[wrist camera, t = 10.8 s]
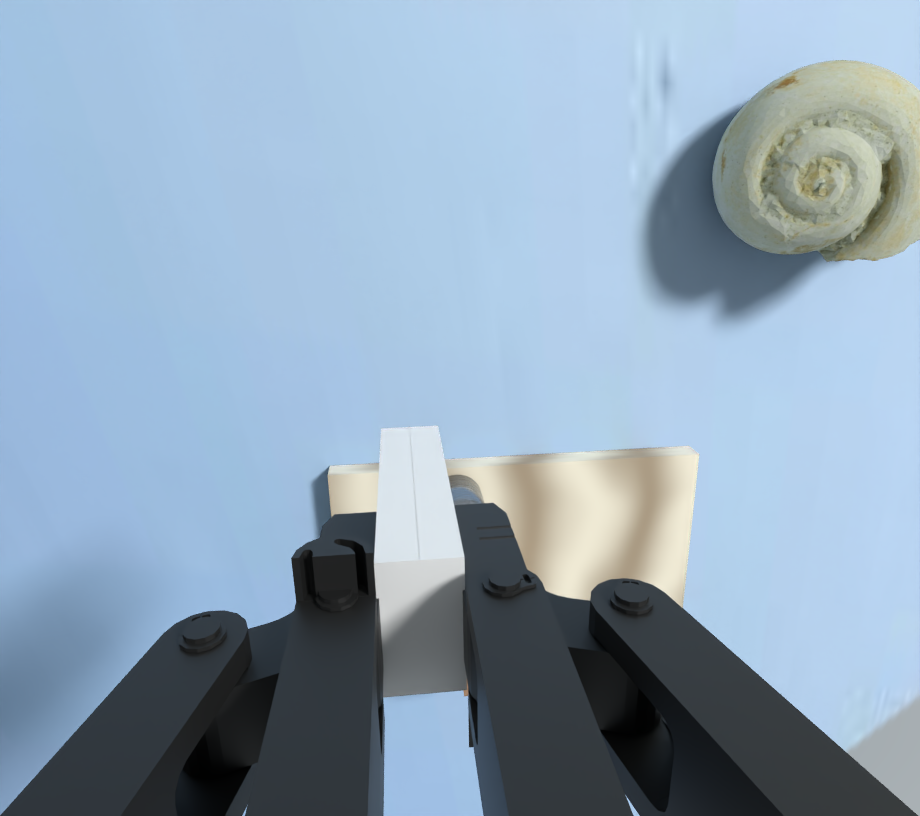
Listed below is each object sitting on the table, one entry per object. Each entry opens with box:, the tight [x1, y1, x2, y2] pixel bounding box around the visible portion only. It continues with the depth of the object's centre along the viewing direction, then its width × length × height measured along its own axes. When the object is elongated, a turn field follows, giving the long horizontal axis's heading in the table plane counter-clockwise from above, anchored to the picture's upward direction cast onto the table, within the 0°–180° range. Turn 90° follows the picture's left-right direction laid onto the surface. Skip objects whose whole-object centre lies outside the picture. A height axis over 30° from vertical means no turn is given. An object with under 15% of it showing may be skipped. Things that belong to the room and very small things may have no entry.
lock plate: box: [328, 446, 699, 608], centre depth 43 cm, size 24×14×2 cm, turn 91°
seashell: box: [712, 60, 920, 262], centre depth 34 cm, size 13×8×10 cm
